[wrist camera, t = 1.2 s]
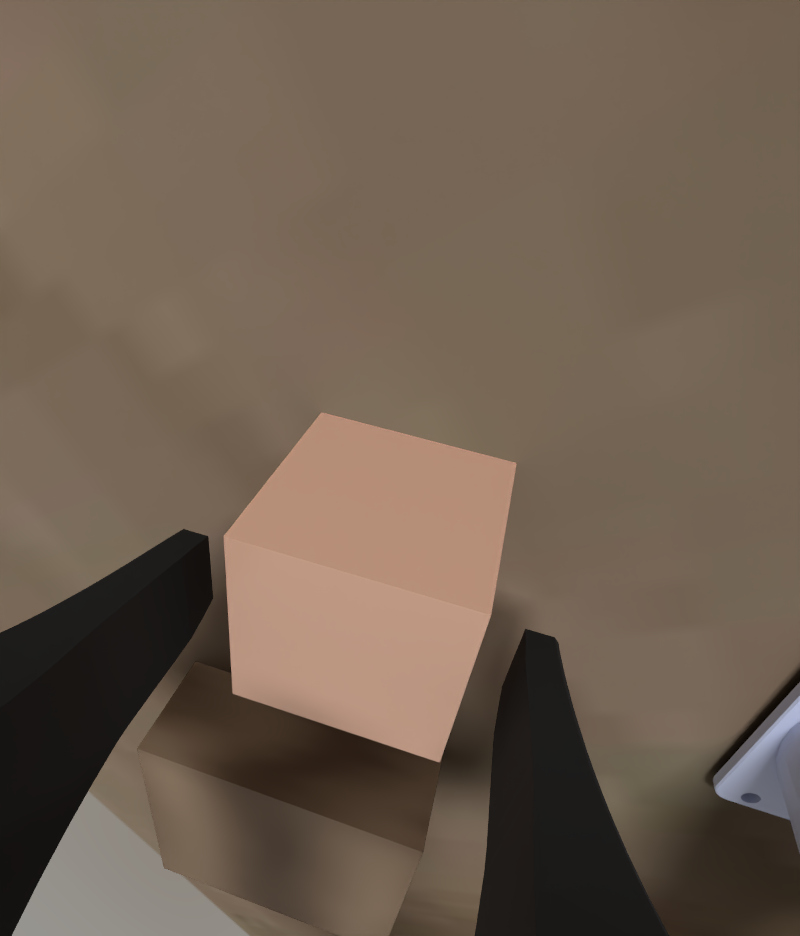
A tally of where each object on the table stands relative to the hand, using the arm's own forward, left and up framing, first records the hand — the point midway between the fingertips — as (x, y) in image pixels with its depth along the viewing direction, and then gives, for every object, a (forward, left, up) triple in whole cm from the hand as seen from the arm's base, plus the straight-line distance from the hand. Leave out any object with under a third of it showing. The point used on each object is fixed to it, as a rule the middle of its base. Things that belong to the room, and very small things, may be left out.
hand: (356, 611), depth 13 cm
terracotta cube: (0, 0, -4) cm, 4 cm away
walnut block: (+2, +15, -4) cm, 16 cm away
